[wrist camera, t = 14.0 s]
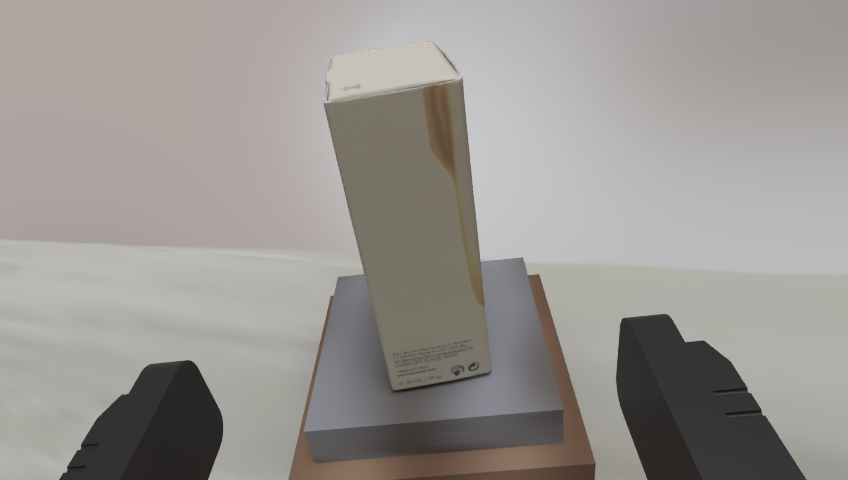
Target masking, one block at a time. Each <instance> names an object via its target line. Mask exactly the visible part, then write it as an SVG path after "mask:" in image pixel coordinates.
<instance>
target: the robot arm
mask: <svg viewBox="0 0 848 480" xmlns="http://www.w3.org/2000/svg"><path fill="white" fill-rule="evenodd" d="M616 383H617V392H618V398H619V402H620V406H621V409H622V412H623V415H624V418H625V420H626V423H627V426H628V428H629V431H630V434H631V437H632V439H633V442H634V445H635V447H636V450H637V453H638V455H639V458H640V461H641V463H642V466H643V469H644V471H645V474H646V477H647V479H648V480H806V479H805V477H804V475H803V474H802V472H801V471H800V469H799V468H798V466H797V464H796V463H795V461H794V460H793V458H792V457H791V455H790V454H789V452H788V450H787V449H786V447H785V446H784V444H783V443H782V441H781V440H780V438H779V436H778V435H777V433H776V432H775V430H774V429H773V427H772V425H771V424H770V422H769V421H768V419H767V418H766V416H763V415H762V412H761V408H760V407H759V405H758V404H757V402H756V400H755V399H754V397H753V396H752V394H751V393H748V390H747V386H746V385H745V383H744V382H743V380H742V379H741V377H740V375H739V374H738V372H737V371H736V369H735V368H734V366H733V365H732V363H731V362H730V361H729V360H728V359H727V358H725V357H724V356H723V355H722V354H720V353H719V352H718V351H717V350H715V349H714V348H713V347H711V346H710V345H709V344H708V343H706V342H705V341H694V342H685V341H684V339H683V338H682V336H681V334H680V332H679V331H678V329H677V327H676V325H675V324H674V322H673V320H672V319H671V317H670V316H669V315H667V314H659V315H650V316H640V317H630V318H623V319H622V321H621V324H620V335H619V348H618V360H617V373H616ZM222 436H223V420H222V415H221V412H220V410H219V408H218V406H217V404H216V402H215V400H214V398H213V396H212V394H211V392H210V390H209V388H208V387H207V385H206V383H205V381H204V379H203V377H202V375H201V373H200V371H199V369H198V367H197V366H196V364H195V363H194V362H192V361H190V360H186V361H176V362H166V363H157V364H150V365H148V366H146V367H145V368H144V369H143V371H142V372H141V374H140V375H139V377H138V379H137V380H136V382H135V384H134V385H133V387H132V389H131V391H130V392H129V394H126V395H121V396H120V397H119V398H118V399H117V400H116V401H115V402H114V403H113V404H112V405H111V406H110V407H109V408H108V409H107V410H106V411H104V412H103V413H102V414H101V415H100V416H99V417H98V418H97V420H96V421H95V423H94V424H93V426H92V428H91V429H90V431H89V433H88V434H87V436H86V437H85V439H84V441H83V442H82V444H81V450H77V452H76V454H75V455H74V457H73V458H72V460H71V462H70V463H69V465H68V466H67V468H68V470H67V472H66V473H63V475H62V476H61V478H60V479H59V480H208V478H209V475H210V472H211V470H212V467H213V464H214V462H215V459H216V456H217V453H218V451H219V448H220V445H221V442H222Z"/></svg>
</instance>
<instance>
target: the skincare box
mask: <svg viewBox="0 0 848 480" xmlns="http://www.w3.org/2000/svg"><path fill="white" fill-rule="evenodd" d="M323 102H324V108H325V112H326V116H327V120H328V124H329V128H330V132H331V137H332V141H333V145H334V150H335V153H336V158H337V162H338V166H339V170H340V175H341V179H342V183H343V187H344V191H345V196H346V200H347V204H348V208H349V213H350V217H351V221H352V225H353V228H354V233H355V237H356V241H357V245H358V249H359V253H360V257H361V262H362V266H363V270H364V274H365V278H366V282H367V286H368V291H369V295H370V299H371V303H372V307H373V311H374V316H375V320H376V324H377V328H378V332H379V336H380V341H381V345H382V349H383V353H384V357H385V361H386V366H387V370H388V374H389V379H390V383H391V387H392V389H393V390H401V389H406V388H412V387H418V386H424V385H429V384H435V383H440V382H445V381H451V380H456V379H460V378H465V377H470V376H475V375H478V374H483V373H488V372H490V371H491V369H492V367H491V357H490V347H489V337H488V328H487V319H486V310H485V301H484V291H483V281H482V271H481V262H480V253H479V243H478V232H477V223H476V213H475V205H474V195H473V185H472V175H471V165H470V155H469V144H468V133H467V124H466V114H465V103H464V90H463V78H462V76H461V74H460V72H459V70H458V69H457V67H456V65H455V64H454V63H453V61H452V60H451V59H450V58H449V56H448V55H447V54H446V53H445V52H444V51H443V49H442V48H441V47H440V46H439V45H437V43H436V42H435V41H427V42H420V43H412V44H405V45H398V46H393V47H386V48H380V49H375V50H368V51H363V52H356V53H349V54H343V55H339V56H334V57H332V58H330V59H328V64H327V71H326V77H325V93H324V101H323Z"/></svg>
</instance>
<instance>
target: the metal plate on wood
mask: <svg viewBox="0 0 848 480" xmlns="http://www.w3.org/2000/svg"><path fill="white" fill-rule="evenodd" d="M481 271H482V281H483V291H484V301H485V310H486V319H487V328H488V337H489V347H490V357H491V367H492V369H491V371H490V372H488V373H483V374H478V375H475V376H470V377H465V378H460V379H456V380H451V381H445V382H440V383H435V384H429V385H424V386H418V387H412V388H406V389H401V390H393V389H392V387H391V383H390V379H389V374H388V370H387V366H386V361H385V357H384V353H383V349H382V345H381V341H380V336H379V332H378V328H377V324H376V320H375V316H374V311H373V307H372V303H371V299H370V295H369V291H368V286H367V282H366V278H365V274H363V275H354V276H344V277H338V280H337V284H336V289H335V293H334V296H331V298H330V303H329V307H328V311H327V316H326V320H325V324H324V329H323V333H322V337H321V342H320V346H319V350H318V355H317V359H316V363H315V367H314V372H313V376H312V380H311V385H310V389H309V393H308V398H307V402H306V406H305V411H304V415H303V419H302V424H301V428H300V432H299V437H298V441H297V445H296V450H295V454H294V458H293V463H292V467H291V471H290V476H289V480H594V478H595V460H594V457H593V454H592V450H591V447H590V444H589V440H588V437H587V433H586V430H585V427H584V423H583V420H582V417H581V413H580V410H579V407H578V403H577V400H576V397H575V393H574V390H573V386H572V383H571V380H570V376H569V373H568V370H567V366H566V363H565V360H564V356H563V353H562V350H561V346H560V343H559V340H558V336H557V333H556V329H555V326H554V323H553V319H552V316H551V313H550V309H549V306H548V303H547V299H546V296H545V293H544V289H543V286H542V282H541V279H540V276H539V274H538V275H527V271H526V267H525V264H524V260H523V258H513V259H504V260H494V261H485V262H481Z"/></svg>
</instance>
